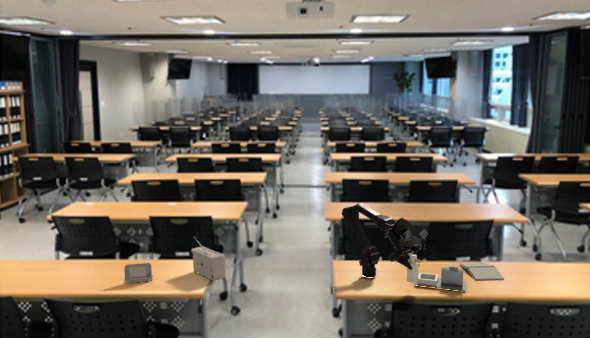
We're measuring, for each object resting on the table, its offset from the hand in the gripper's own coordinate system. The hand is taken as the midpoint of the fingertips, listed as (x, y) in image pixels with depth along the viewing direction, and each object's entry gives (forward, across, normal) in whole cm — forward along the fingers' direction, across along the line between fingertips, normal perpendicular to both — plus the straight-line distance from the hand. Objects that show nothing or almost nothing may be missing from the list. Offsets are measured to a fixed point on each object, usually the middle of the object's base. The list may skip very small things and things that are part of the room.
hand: (415, 268), depth 240 cm
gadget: (+14, +49, +5) cm, 51 cm away
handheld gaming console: (-64, -92, +83) cm, 139 cm away
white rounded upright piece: (+4, 0, +6) cm, 7 cm away
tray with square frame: (+10, +18, +7) cm, 22 cm away
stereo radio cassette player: (-52, -62, +70) cm, 106 cm away
